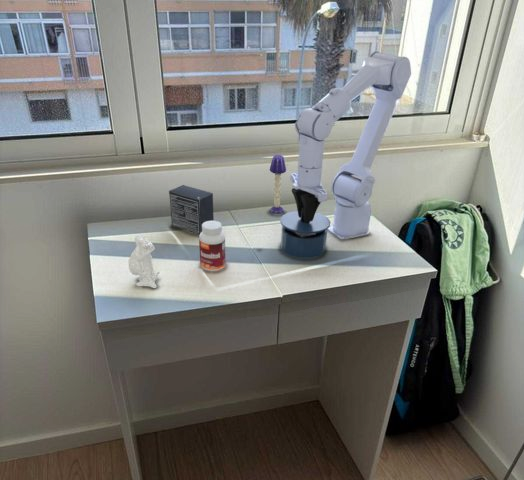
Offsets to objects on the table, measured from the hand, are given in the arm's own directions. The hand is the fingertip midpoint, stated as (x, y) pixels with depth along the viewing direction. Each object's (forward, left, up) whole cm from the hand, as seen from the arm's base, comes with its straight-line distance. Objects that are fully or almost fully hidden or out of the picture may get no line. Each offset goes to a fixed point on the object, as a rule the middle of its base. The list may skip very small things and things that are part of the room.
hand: (305, 218), depth 130 cm
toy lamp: (-4, -23, -9) cm, 25 cm away
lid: (0, 0, -1) cm, 1 cm away
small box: (+22, -23, -9) cm, 33 cm away
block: (0, 0, -8) cm, 8 cm away
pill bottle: (+25, -1, -9) cm, 26 cm away
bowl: (0, 0, -8) cm, 8 cm away
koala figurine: (+42, 0, -9) cm, 43 cm away
